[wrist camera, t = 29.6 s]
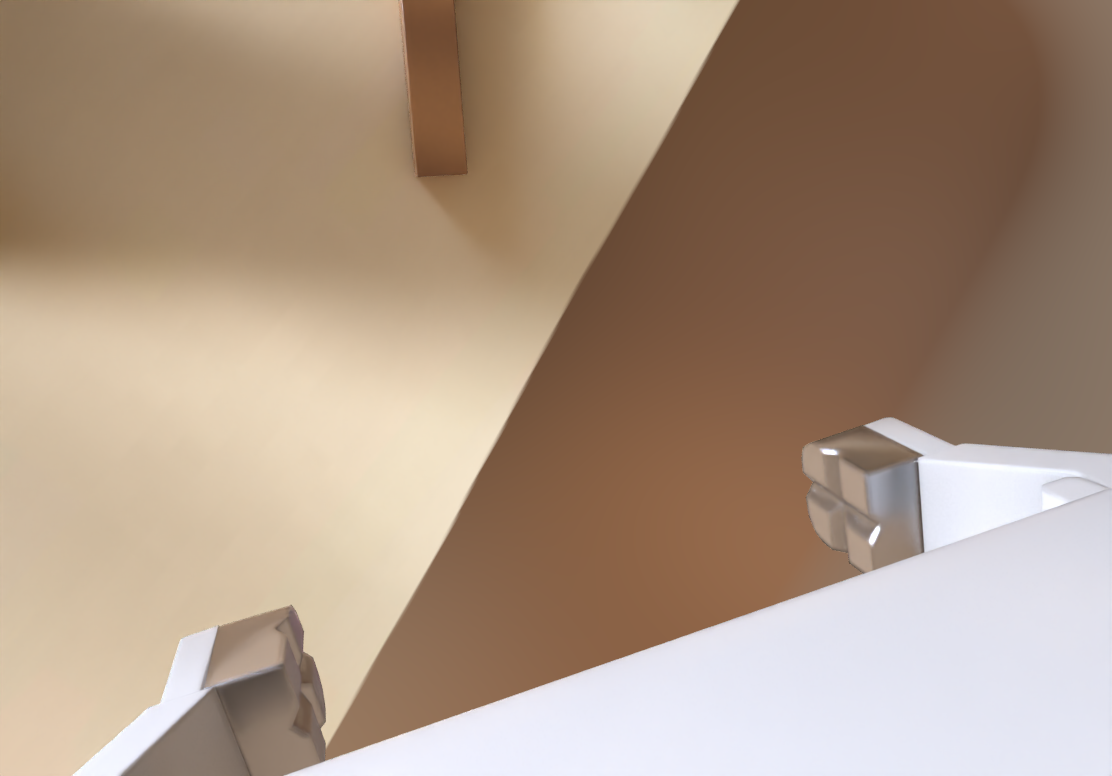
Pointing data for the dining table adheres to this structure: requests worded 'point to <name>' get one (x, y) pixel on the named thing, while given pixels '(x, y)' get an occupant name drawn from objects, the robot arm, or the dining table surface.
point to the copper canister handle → (433, 87)
